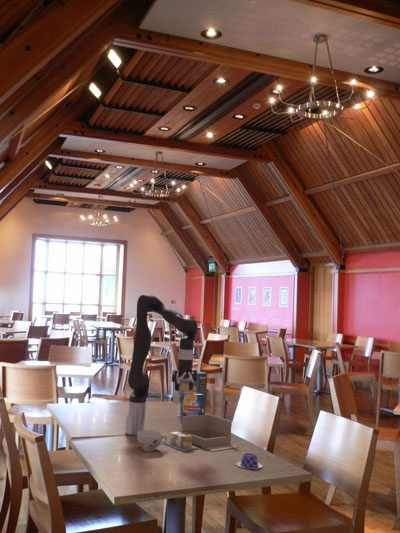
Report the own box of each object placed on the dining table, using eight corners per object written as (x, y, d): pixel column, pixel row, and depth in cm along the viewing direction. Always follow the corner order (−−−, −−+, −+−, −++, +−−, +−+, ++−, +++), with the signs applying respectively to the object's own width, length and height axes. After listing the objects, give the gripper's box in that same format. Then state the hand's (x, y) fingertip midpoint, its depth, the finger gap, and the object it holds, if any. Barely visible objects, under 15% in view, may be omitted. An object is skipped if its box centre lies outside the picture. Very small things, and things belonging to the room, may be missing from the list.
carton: (211, 451, 276) (213, 427, 276) (181, 439, 296) (182, 416, 297) (238, 447, 286) (239, 423, 287) (207, 436, 307) (208, 414, 307)
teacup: (137, 453, 265) (138, 436, 265) (134, 446, 277) (135, 430, 277) (168, 453, 268) (170, 436, 269) (163, 446, 280) (165, 430, 281)
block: (168, 442, 286) (169, 431, 287) (176, 441, 289) (177, 430, 290) (184, 448, 276) (184, 437, 276) (191, 447, 279) (192, 436, 279)
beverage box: (200, 435, 309) (203, 394, 310) (181, 435, 306) (184, 394, 308) (198, 432, 315) (200, 392, 317) (179, 432, 313) (181, 392, 314)
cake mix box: (204, 423, 340) (207, 373, 342) (196, 423, 337) (199, 373, 339) (185, 415, 358) (187, 368, 360) (177, 416, 355) (180, 368, 357)
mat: (182, 451, 273) (182, 450, 273) (161, 442, 287) (161, 441, 287) (198, 449, 279) (198, 447, 279) (177, 440, 293) (177, 439, 293)
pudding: (251, 472, 247) (251, 460, 247) (230, 465, 255) (231, 453, 256) (267, 467, 255) (268, 455, 256) (247, 461, 264) (247, 449, 264)
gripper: (192, 357, 293) (190, 388, 292) (170, 357, 284) (168, 389, 283) (201, 358, 287) (199, 390, 286) (178, 359, 278) (176, 392, 277)
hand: (183, 390), depth 284 cm, fingers open, 8 cm apart
